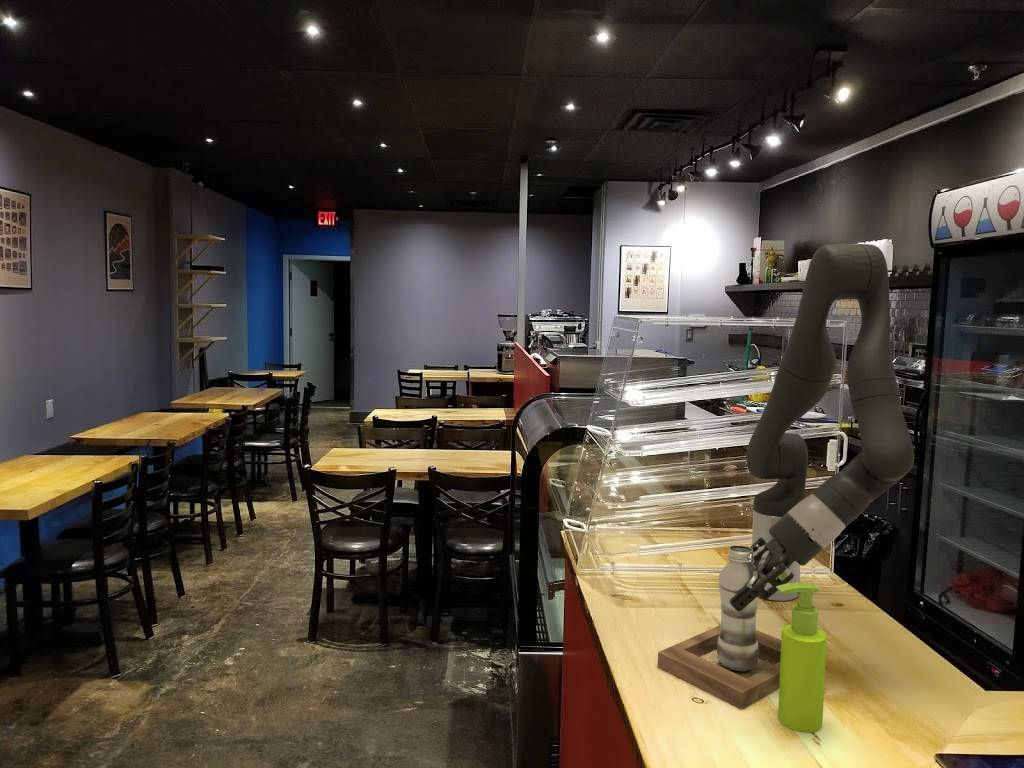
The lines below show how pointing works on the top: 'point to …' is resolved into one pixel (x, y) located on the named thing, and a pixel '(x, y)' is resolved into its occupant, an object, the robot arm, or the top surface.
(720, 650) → the plastic bottle
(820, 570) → the top surface
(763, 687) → the brown wooden picture frame
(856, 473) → the robot arm
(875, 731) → the top surface
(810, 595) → the soap dispenser
